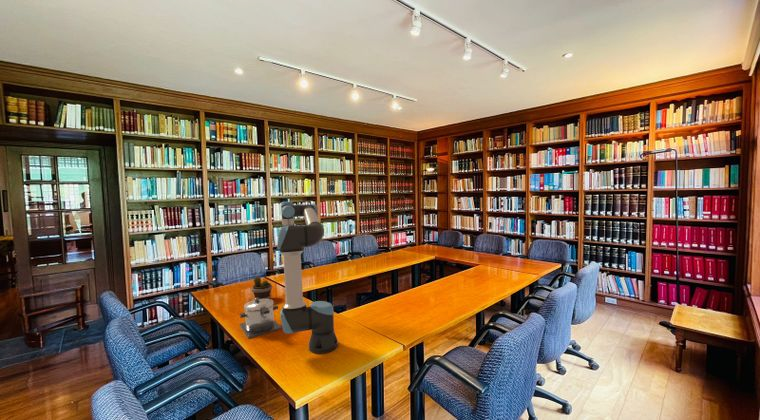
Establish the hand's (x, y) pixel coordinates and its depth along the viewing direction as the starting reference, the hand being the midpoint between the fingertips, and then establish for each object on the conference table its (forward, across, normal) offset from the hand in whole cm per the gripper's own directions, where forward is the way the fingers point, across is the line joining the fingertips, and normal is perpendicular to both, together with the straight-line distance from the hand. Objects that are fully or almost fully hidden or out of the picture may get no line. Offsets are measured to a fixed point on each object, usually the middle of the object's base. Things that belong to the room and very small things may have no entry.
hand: (289, 259), depth 206 cm
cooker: (+37, +23, +8) cm, 44 cm away
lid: (+23, +23, +12) cm, 35 cm away
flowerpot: (+37, +8, -40) cm, 55 cm away
